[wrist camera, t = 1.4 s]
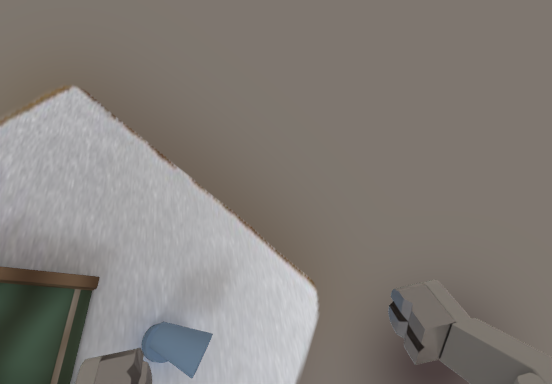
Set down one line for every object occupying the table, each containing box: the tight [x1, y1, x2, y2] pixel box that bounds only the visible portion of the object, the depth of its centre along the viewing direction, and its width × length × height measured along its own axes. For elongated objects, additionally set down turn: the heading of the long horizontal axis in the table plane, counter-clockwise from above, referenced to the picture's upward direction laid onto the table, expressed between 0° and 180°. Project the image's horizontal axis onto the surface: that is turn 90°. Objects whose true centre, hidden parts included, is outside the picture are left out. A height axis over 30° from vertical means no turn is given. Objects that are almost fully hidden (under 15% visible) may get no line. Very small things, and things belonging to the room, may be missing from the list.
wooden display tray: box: [0, 267, 99, 384], centre depth 31 cm, size 14×14×6 cm
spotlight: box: [142, 322, 213, 378], centre depth 39 cm, size 5×10×7 cm
